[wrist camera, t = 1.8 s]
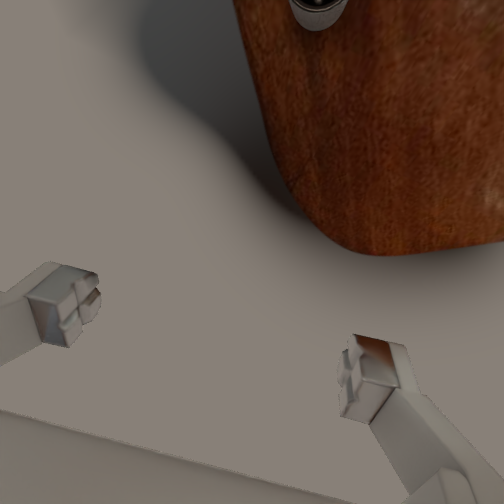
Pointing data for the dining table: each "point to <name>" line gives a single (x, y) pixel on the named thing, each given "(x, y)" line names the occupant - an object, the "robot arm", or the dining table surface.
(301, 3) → the grey tumbler
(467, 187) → the dining table surface
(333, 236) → the dining table surface
